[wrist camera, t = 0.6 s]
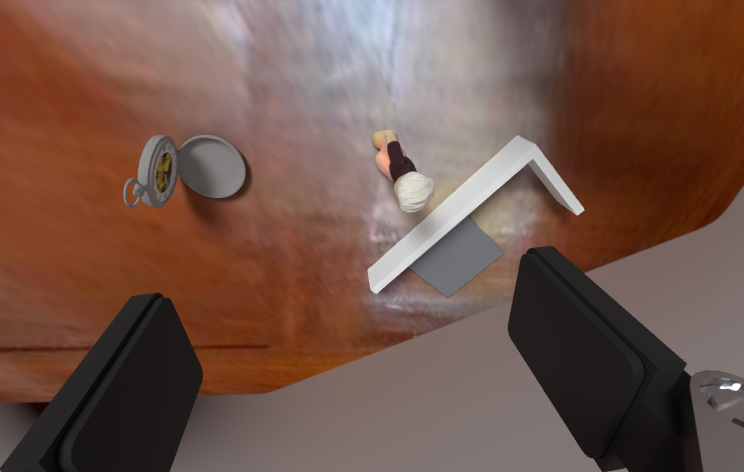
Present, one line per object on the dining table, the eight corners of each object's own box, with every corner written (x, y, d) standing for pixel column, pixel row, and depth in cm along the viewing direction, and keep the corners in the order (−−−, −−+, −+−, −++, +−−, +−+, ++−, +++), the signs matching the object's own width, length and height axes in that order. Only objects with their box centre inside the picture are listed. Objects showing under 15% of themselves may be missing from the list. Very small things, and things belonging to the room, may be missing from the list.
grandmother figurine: (355, 134, 36) (368, 178, 25) (386, 112, 35) (412, 147, 24) (394, 189, 39) (420, 248, 28) (422, 170, 38) (460, 223, 28)
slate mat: (458, 207, 41) (459, 208, 41) (503, 251, 46) (504, 253, 45) (399, 259, 44) (400, 260, 44) (446, 296, 49) (447, 298, 48)
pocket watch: (258, 182, 37) (237, 226, 29) (188, 207, 38) (147, 258, 29) (217, 108, 33) (179, 133, 24) (139, 137, 33) (75, 173, 25)
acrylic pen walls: (517, 134, 38) (536, 144, 34) (563, 195, 42) (584, 209, 39) (367, 270, 45) (370, 289, 41) (421, 309, 49) (428, 329, 46)
